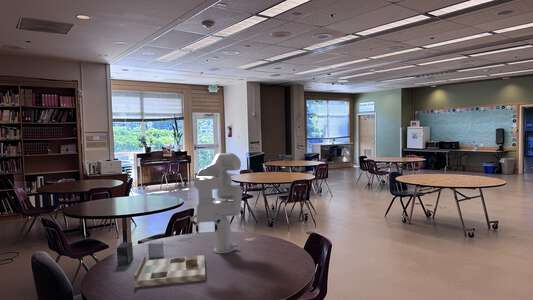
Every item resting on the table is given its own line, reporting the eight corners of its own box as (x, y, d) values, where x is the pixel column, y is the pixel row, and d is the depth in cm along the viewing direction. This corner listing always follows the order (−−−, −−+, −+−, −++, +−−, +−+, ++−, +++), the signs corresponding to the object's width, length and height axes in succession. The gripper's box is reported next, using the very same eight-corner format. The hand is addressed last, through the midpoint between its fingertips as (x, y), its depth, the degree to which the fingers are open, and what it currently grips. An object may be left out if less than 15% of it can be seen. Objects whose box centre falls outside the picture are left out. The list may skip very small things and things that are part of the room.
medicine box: (163, 255, 224) (163, 241, 224) (161, 257, 220) (160, 243, 219) (151, 255, 225) (150, 241, 225) (148, 257, 221) (147, 243, 220)
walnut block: (197, 262, 200) (197, 255, 200) (197, 266, 194) (196, 259, 194) (186, 263, 199) (185, 256, 199) (185, 267, 193) (185, 260, 193)
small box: (122, 259, 219) (121, 242, 219) (133, 258, 220) (132, 241, 219) (116, 265, 209) (115, 247, 208) (128, 264, 209) (127, 246, 209)
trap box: (204, 260, 213) (204, 250, 213) (205, 280, 183) (204, 268, 183) (144, 265, 207) (143, 255, 206) (134, 287, 177) (134, 275, 177)
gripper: (221, 198, 202) (222, 229, 203) (189, 200, 199) (190, 231, 200) (222, 201, 195) (223, 232, 195) (189, 203, 192) (190, 235, 192)
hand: (206, 232), depth 198 cm, fingers open, 9 cm apart
